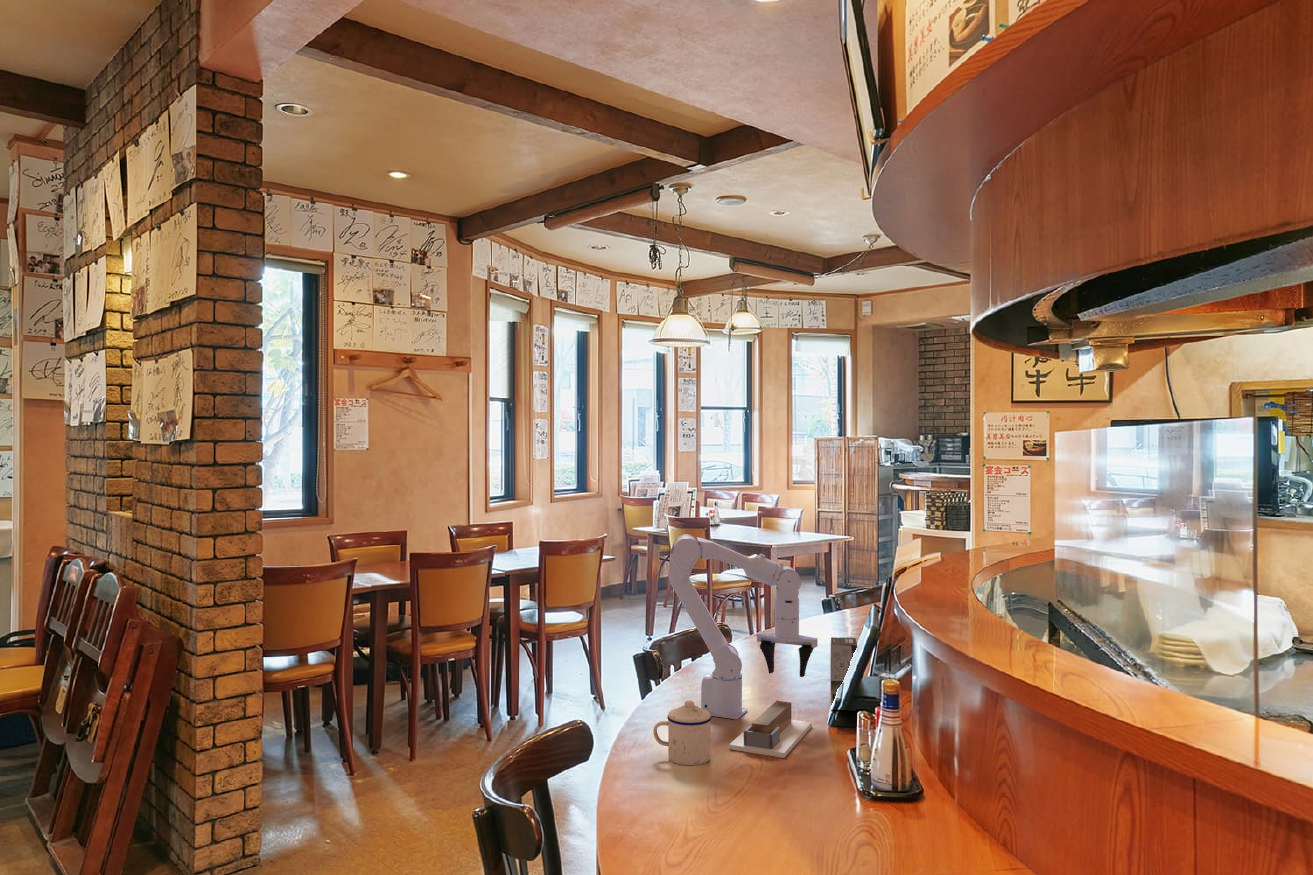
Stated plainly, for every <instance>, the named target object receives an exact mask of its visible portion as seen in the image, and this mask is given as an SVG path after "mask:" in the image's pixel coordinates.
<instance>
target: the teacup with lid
mask: <svg viewBox="0 0 1313 875" xmlns="http://www.w3.org/2000/svg"><path fill="white" fill-rule="evenodd" d="M712 717H713V716H711V714H710V713H709V712H708V711H706V710H704V709H701V707H699V706H697V705H695V702H694V701H693V700H685V702H684V705H681V706H679V707H677V708H674V709H671V710H670V711H669V712H668V714H667V717H666V718H667V720H668V721H667V720H662V721H658V722H657V723H656V724H655V725H654V727H653V732H652V734H653V737H654V739H655V741H656V743H658V744H659V745H660V746H662V747H667V748H668V749H667V752H668V753H667V754H668V757H667V758H668V759H669V760H670V761H671V762H672V763H674V764H677V765H683V766H698V765H702V764H706V763H707V762H708V761H710V758H711V721H712V719H713V718H712ZM661 726H665V727H666V726H667V728H668V729H667V731H668V735H667V736H668V740H667V741H664V740H662V739H661V738H660V736H659V734H658V728H659V727H661Z"/></svg>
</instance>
